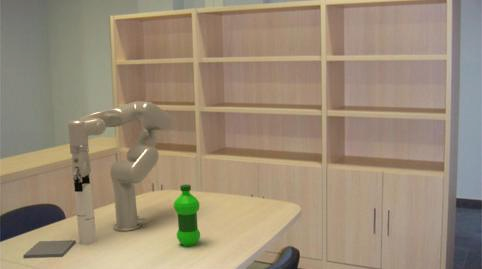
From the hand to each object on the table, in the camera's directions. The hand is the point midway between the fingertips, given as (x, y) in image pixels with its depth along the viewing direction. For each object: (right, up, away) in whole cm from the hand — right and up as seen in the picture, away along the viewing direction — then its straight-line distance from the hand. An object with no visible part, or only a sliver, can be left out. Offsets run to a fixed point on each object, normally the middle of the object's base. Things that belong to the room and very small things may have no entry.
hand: (82, 188), depth 228 cm
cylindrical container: (+1, -24, +4) cm, 24 cm away
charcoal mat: (-12, -25, -5) cm, 28 cm away
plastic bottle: (+46, -23, -5) cm, 52 cm away
